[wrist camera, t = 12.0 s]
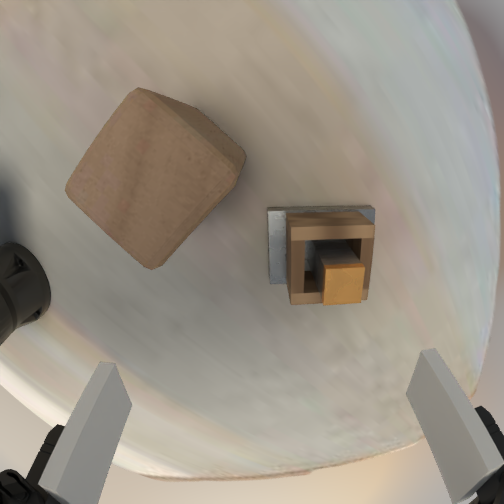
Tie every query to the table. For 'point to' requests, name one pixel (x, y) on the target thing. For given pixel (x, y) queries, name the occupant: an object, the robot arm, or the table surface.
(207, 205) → the block
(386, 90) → the table surface
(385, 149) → the table surface
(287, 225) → the wooden cube shelf
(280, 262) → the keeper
